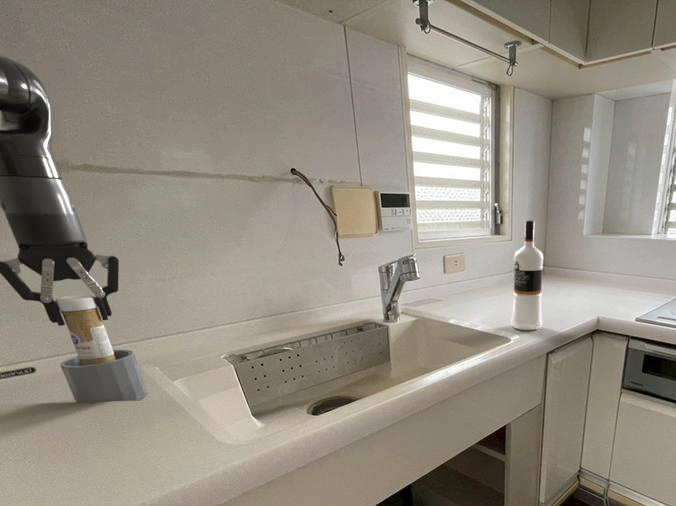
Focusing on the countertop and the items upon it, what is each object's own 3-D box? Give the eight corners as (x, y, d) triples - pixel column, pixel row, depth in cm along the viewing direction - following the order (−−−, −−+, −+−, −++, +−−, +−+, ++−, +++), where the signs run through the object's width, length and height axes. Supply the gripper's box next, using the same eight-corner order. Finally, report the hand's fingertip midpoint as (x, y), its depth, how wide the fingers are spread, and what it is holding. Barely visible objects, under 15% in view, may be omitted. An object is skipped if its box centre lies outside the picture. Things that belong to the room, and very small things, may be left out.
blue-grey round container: (62, 412, 67) (43, 367, 64) (108, 390, 76) (92, 350, 73) (121, 410, 68) (104, 366, 65) (159, 389, 77) (146, 349, 74)
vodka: (546, 329, 118) (551, 220, 107) (516, 331, 116) (518, 220, 105) (535, 322, 126) (539, 220, 115) (507, 324, 124) (508, 220, 113)
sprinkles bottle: (78, 378, 68) (45, 299, 63) (104, 368, 72) (75, 294, 67) (103, 379, 68) (73, 299, 63) (128, 369, 72) (101, 294, 67)
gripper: (104, 212, 68) (137, 312, 74) (-30, 210, 58) (21, 325, 64) (107, 211, 63) (142, 318, 69) (-39, 210, 53) (17, 334, 59)
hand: (83, 321), depth 67 cm, fingers closed on sprinkles bottle, 4 cm apart
